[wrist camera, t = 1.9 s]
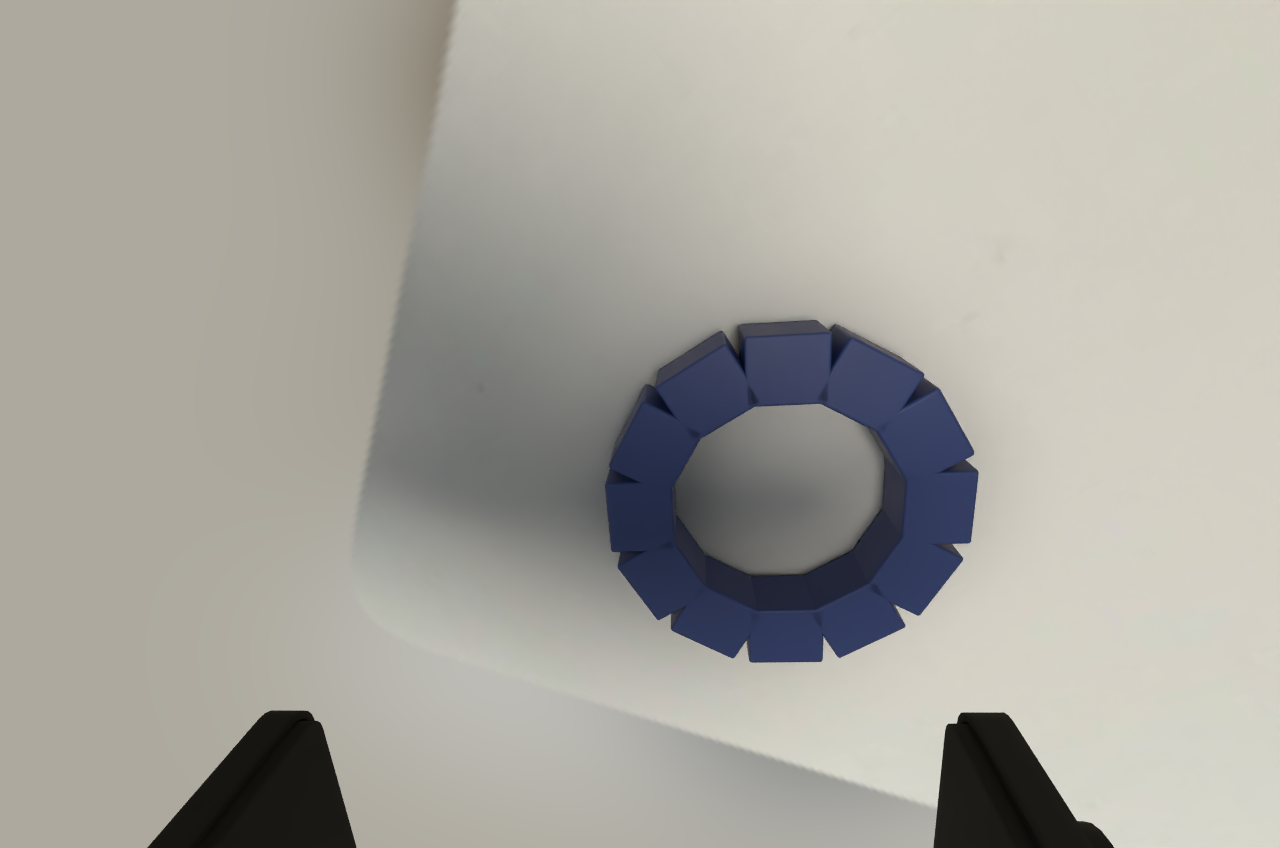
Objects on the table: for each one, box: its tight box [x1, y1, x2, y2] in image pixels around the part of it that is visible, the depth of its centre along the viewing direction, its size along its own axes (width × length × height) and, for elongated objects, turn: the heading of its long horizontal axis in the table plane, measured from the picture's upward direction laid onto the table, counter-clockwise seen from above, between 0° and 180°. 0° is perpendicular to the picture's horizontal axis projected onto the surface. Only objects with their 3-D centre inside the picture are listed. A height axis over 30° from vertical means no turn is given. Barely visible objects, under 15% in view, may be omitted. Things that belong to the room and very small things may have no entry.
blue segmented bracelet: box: [605, 320, 978, 662], centre depth 17 cm, size 10×10×2 cm
